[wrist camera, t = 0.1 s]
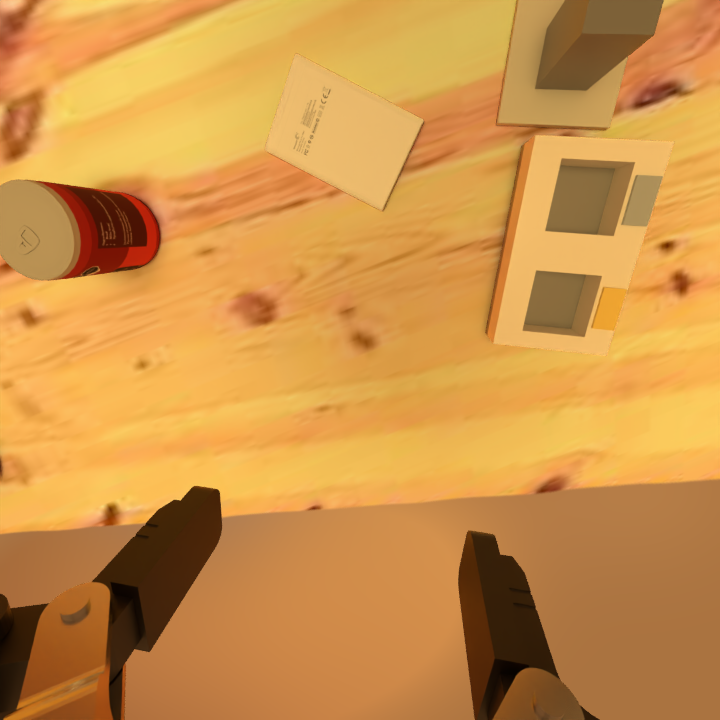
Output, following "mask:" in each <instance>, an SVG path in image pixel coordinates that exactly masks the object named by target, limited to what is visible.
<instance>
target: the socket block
mask: <svg viewBox="0 0 720 720" xmlns="http://www.w3.org/2000/svg"><path fill="white" fill-rule="evenodd" d="M673 145H674V141H653V140H632V139H610V138H589V137H568V136H547V135H535V136H534V137H533V138H531V139H530V140H529V141H528V142H526V143H525V144H524V145H523V146H522V147H521V152H520V157H519V162H518V167H517V172H516V178H515V183H514V188H513V193H512V198H511V203H510V209H509V214H508V219H507V224H506V229H505V234H504V240H503V245H502V250H501V255H500V260H499V265H498V270H497V276H496V281H495V286H494V291H493V296H492V301H491V307H490V312H489V317H488V322H487V327H486V332H485V333H486V334H487V336H488V337H489V339H490V340H491V341H492V343H493V344H501V345H510V346H519V347H529V348H538V349H548V350H557V351H566V352H576V353H585V354H595V355H604V356H607V353H608V350H609V347H610V344H611V341H612V338H613V334H614V331H615V328H616V325H617V322H618V319H619V316H620V312H621V309H622V306H623V303H624V300H625V297H626V293H627V290H628V287H629V284H630V281H631V278H632V274H633V271H634V268H635V265H636V262H637V259H638V255H639V252H640V249H641V246H642V243H643V240H644V236H645V233H646V230H647V227H648V224H649V221H650V218H651V214H652V211H653V208H654V205H655V202H656V199H657V195H658V192H659V189H660V186H661V183H662V180H663V176H664V173H665V170H666V167H667V164H668V161H669V157H670V154H671V151H672V148H673Z"/></svg>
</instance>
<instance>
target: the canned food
mask: <svg viewBox="0 0 720 720" xmlns="http://www.w3.org/2000/svg"><path fill="white" fill-rule="evenodd" d="M159 240H160V239H159V229H158V225H157V222H156V219H155V217H154V216H153V214H152V212H151V211H150V210H149V209H148V207H147V206H146V205H144V204H143V203H142V202H141V201H139V200H137V199H136V198H134V197H132V196H131V195H128V194H125V193H120V192H113V191H106V190H99V189H92V188H85V187H78V186H70V185H63V184H56V183H49V182H42V181H33V180H12V181H9V182H6V183H4V184H2V185H1V186H0V255H1V256H2V258H3V259H4V260H5V261H6V262H7V263H8V264H9V265H10V266H11V267H12V268H13V269H14V270H16V271H17V272H19V273H20V274H22V275H24V276H26V277H28V278H31V279H35V280H58V279H68V278H75V277H82V276H89V275H97V274H104V273H111V272H118V271H126V270H133V269H137V268H140V267H142V266H143V265H145V264H146V263H148V262H149V261H150V260H151V259H152V258H153V257H154V255H155V254H156V252H157V249H158V247H159Z"/></svg>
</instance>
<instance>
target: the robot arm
mask: <svg viewBox="0 0 720 720" xmlns="http://www.w3.org/2000/svg"><path fill="white" fill-rule="evenodd" d="M221 531H222V517H221V503H220V492H219V490H218V489H213V488H206V487H200V486H194V487H192V488H191V489H190V490H189V492H188V493H187V494H186V495H185V496H184V497H183V498H182V500H181V501H179V500H173V501H172V502H170V503H168V504H167V505H165V506H164V507H162V508H160V509H159V510H158V511H157V512H156V513H155V514H154V515H153V516H152V517H151V518H150V519H149V520H148V521H147V523H146V525H145V526H143V527H142V528H141V529H140V530H139V531H138V532H137V534H136V536H135V537H133V538H132V539H131V540H130V541H129V542H128V543H127V544H126V545H125V546H124V548H123V549H122V550H121V551H120V552H119V553H118V554H117V555H116V556H115V557H114V558H113V560H112V561H111V562H110V563H109V564H108V565H107V566H106V567H105V568H104V570H102V571H101V573H100V574H99V575H98V576H97V577H96V578H95V579H94V580H93V581H92V582H89V583H84V584H80V585H77V586H74V587H72V588H70V589H68V590H66V591H65V592H63V593H61V594H60V595H59V596H57V597H56V598H55V599H54V600H52V601H51V602H50V603H48V604H41V605H33V606H25V607H18V608H10V606H9V603H8V600H7V598H6V597H5V596H4V595H2V594H0V720H125V686H126V664H125V662H126V661H127V659H128V658H129V656H130V655H131V653H132V652H133V650H134V649H137V650H142V651H147V652H150V651H151V649H152V648H153V645H154V644H155V643H156V641H157V640H158V638H159V636H160V634H161V633H162V632H163V630H164V628H165V627H166V625H167V624H168V622H169V621H170V619H171V617H172V616H173V614H174V613H175V611H176V609H177V608H178V606H179V605H180V603H181V601H182V600H183V598H184V597H185V595H186V593H187V592H188V590H189V589H190V587H191V585H192V584H193V582H194V581H195V579H196V577H197V576H198V574H199V573H200V571H201V570H202V568H203V566H204V565H205V563H206V562H207V560H208V559H209V557H210V555H211V554H212V552H213V551H214V549H215V547H216V545H217V544H218V541H219V538H220V536H221ZM458 586H459V595H460V604H461V612H462V620H463V628H464V636H465V644H466V652H467V660H468V668H469V677H470V684H471V693H472V700H473V709H474V717H475V720H599V719H598V718H596V717H594V716H593V715H591V714H590V713H589V712H587V711H586V710H585V709H584V708H583V707H581V706H580V705H579V703H578V701H577V699H576V698H575V696H574V695H573V693H572V692H571V691H570V689H568V687H567V686H566V685H565V684H564V683H563V682H562V681H561V680H560V678H559V676H558V673H557V671H556V668H555V665H554V662H553V659H552V656H551V653H550V650H549V647H548V644H547V640H546V638H545V634H544V631H543V628H542V625H541V622H540V619H539V616H538V613H537V610H536V609H535V603H534V600H533V597H532V595H531V593H530V592H531V591H530V588H529V585H528V582H527V579H526V576H525V573H524V572H523V570H522V569H521V567H520V566H519V565H518V563H517V562H516V561H515V560H514V558H513V557H512V556H506V555H500V552H499V549H498V545H497V541H496V538H495V536H494V535H493V534H488V533H482V532H476V531H468V532H467V535H466V540H465V544H464V549H463V553H462V558H461V562H460V567H459V578H458Z"/></svg>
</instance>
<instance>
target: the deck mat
mask: <svg viewBox="0 0 720 720" xmlns="http://www.w3.org/2000/svg"><path fill="white" fill-rule="evenodd" d="M564 1H565V0H517V3H516V9H515V15H514V21H513V27H512V32H511V38H510V44H509V50H508V56H507V62H506V68H505V74H504V80H503V85H502V91H501V97H500V103H499V109H498V115H497V121H496V125H501V126H523V127H545V128H568V129H590V130H606V129H608V128H610V124H611V121H612V117H613V113H614V109H615V105H616V101H617V98H618V94H619V90H620V86H621V82H622V78H623V75H624V71H625V67H626V63H627V59H628V57H626V58H625V59H624V60H623V61H622V62H620V63H619V64H618V65H617V66H616V67H614V68H613V69H612V70H611V71H609V72H608V73H607V74H606V75H605V76H603V77H602V78H601V79H600V80H599V81H597V82H596V83H595V84H594V85H592V86H591V87H590V88H589V89H588V90H586V91H582V90H552V89H535V86H536V81H537V76H538V71H539V66H540V61H541V55H542V50H543V45H544V40H545V35H546V30H547V27H548V26H549V24H550V23H551V21H552V20H553V18H554V17H555V15H556V13H557V12H558V10H559V9H560V7H561V6H562V4H563V3H564Z"/></svg>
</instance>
